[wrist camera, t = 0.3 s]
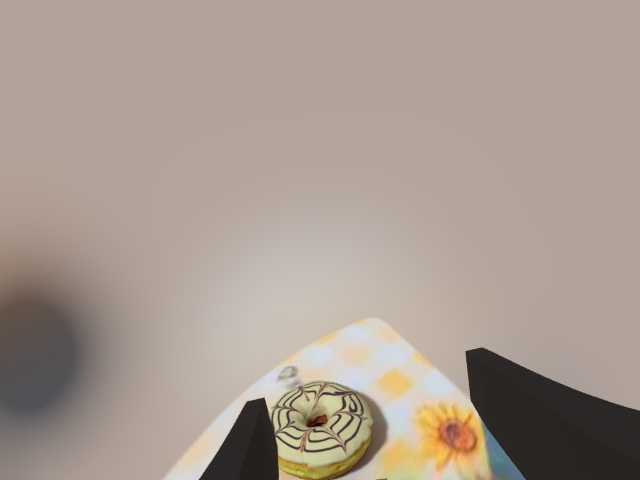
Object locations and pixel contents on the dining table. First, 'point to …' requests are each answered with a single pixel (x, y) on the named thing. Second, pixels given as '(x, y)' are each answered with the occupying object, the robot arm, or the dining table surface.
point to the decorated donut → (320, 430)
